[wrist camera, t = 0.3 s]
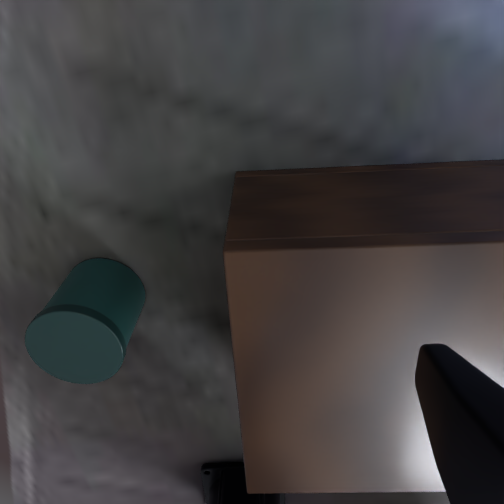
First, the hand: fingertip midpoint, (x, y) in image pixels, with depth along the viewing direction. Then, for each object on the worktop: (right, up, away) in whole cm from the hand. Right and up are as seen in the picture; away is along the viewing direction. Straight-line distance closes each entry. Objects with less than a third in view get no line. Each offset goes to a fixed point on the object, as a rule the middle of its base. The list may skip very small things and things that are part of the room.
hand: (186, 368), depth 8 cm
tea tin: (-7, 0, +17) cm, 18 cm away
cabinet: (+8, +1, +16) cm, 18 cm away
